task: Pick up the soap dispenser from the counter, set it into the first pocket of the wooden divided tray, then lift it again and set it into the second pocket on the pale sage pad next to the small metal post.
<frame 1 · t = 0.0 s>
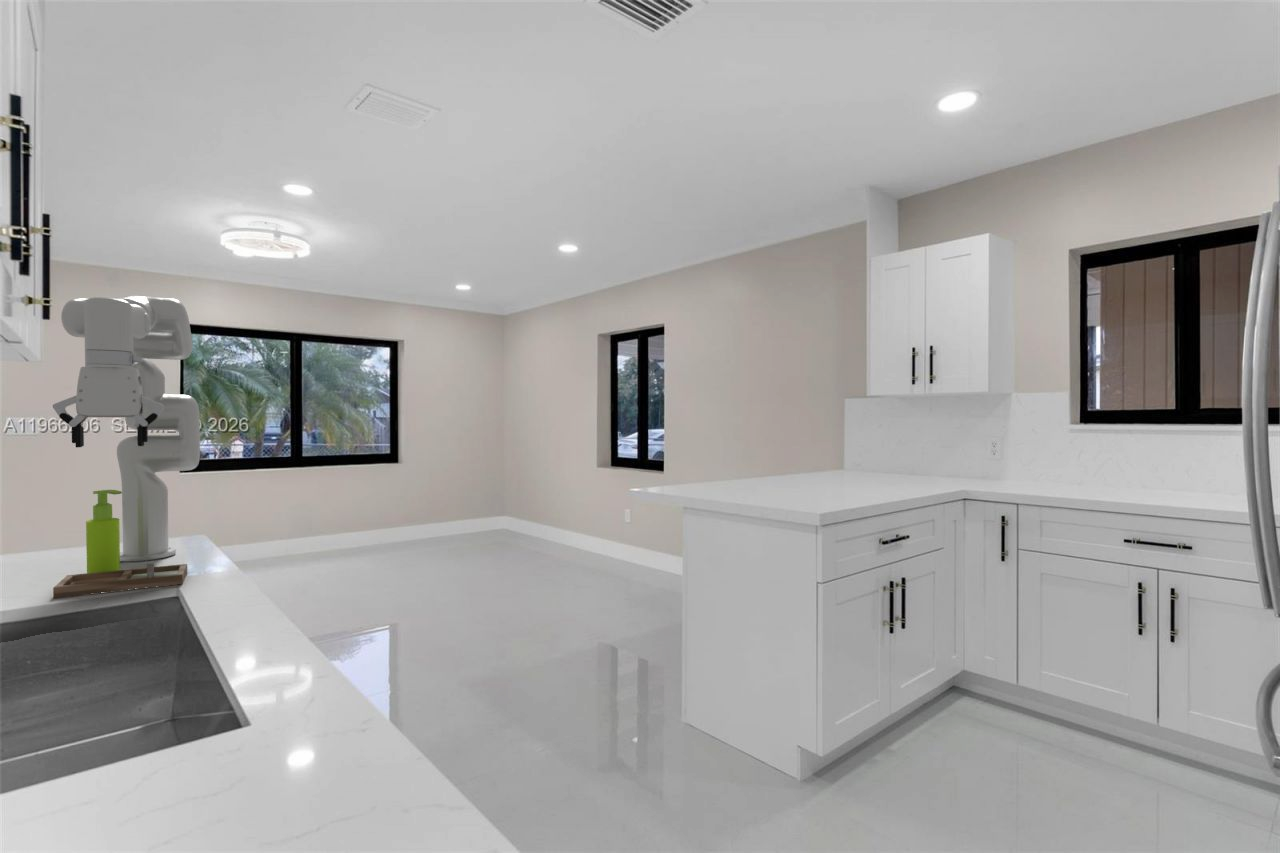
hand: (110, 446, 130), 31 cm above the table, tool pointing down, fingers open, 9 cm apart
wooden divided tray: (125, 584, 143), on the table
soap dispenser: (106, 577, 150), on the table
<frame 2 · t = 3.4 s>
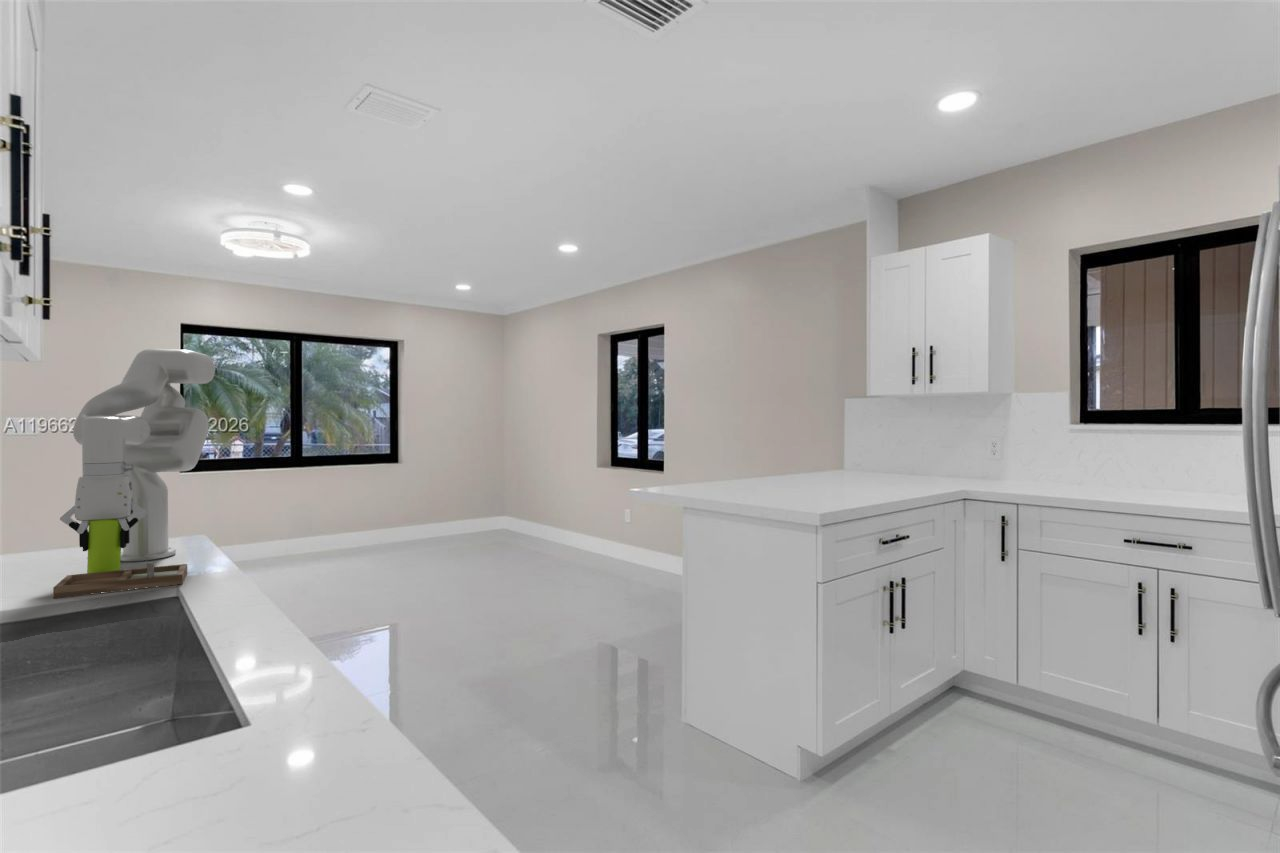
hand: (105, 547, 149), 7 cm above the table, tool pointing down, fingers closed on soap dispenser, 6 cm apart
soap dispenser: (105, 577, 150), on the table, touching gripper
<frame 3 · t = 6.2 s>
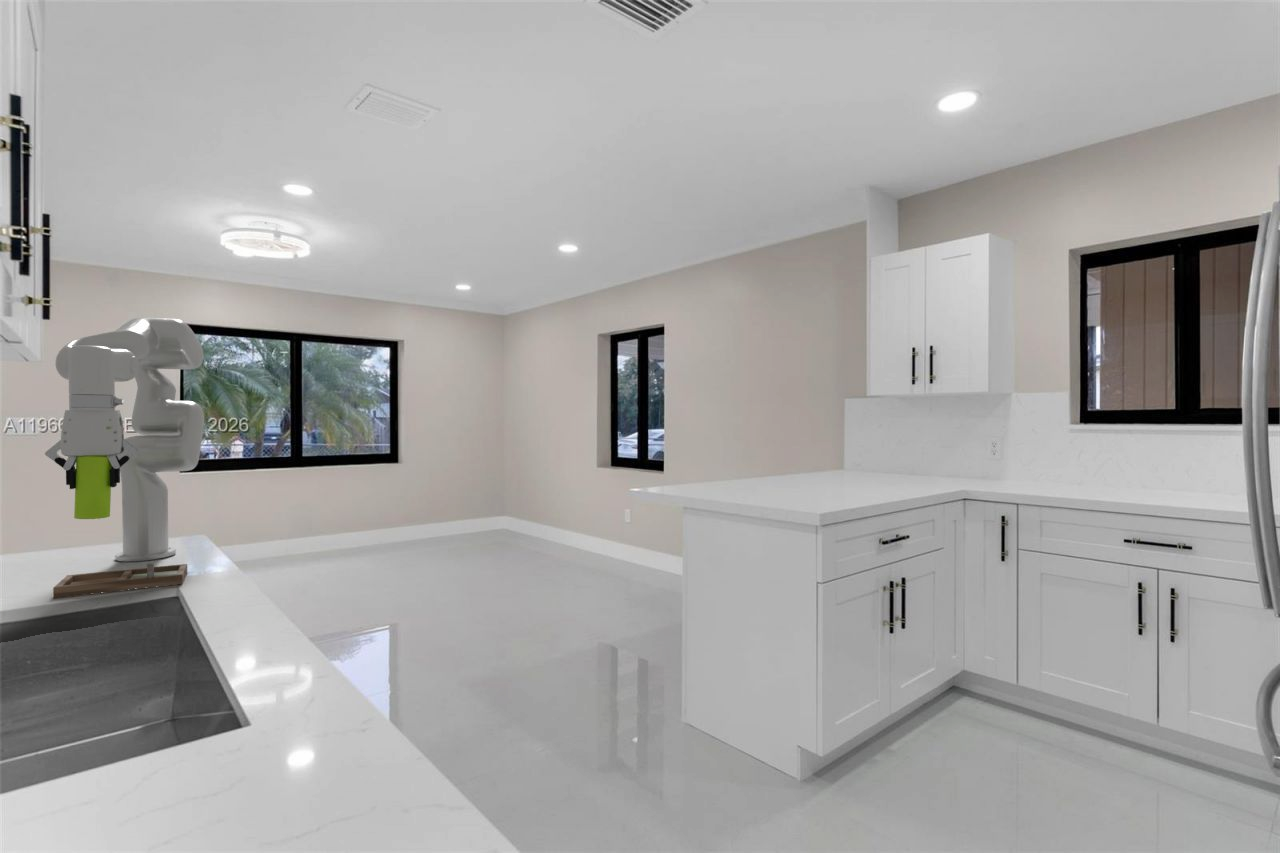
hand: (93, 486, 140), 22 cm above the table, tool pointing down, fingers closed on soap dispenser, 6 cm apart
soap dispenser: (94, 518, 140), point 15 cm above the table, touching gripper
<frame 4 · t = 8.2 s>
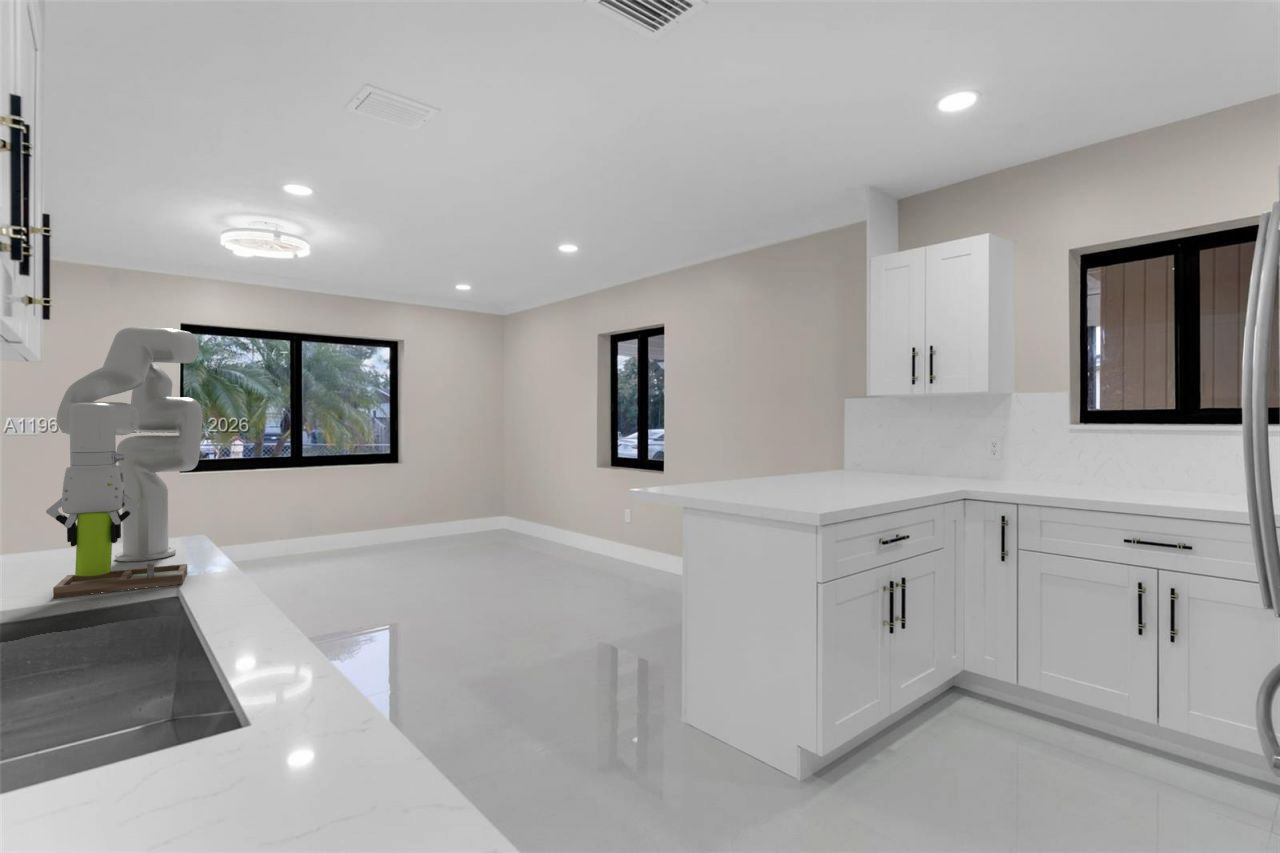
hand: (94, 542, 140), 10 cm above the table, tool pointing down, fingers closed on soap dispenser, 6 cm apart
soap dispenser: (95, 573, 140), point 3 cm above the table, touching gripper
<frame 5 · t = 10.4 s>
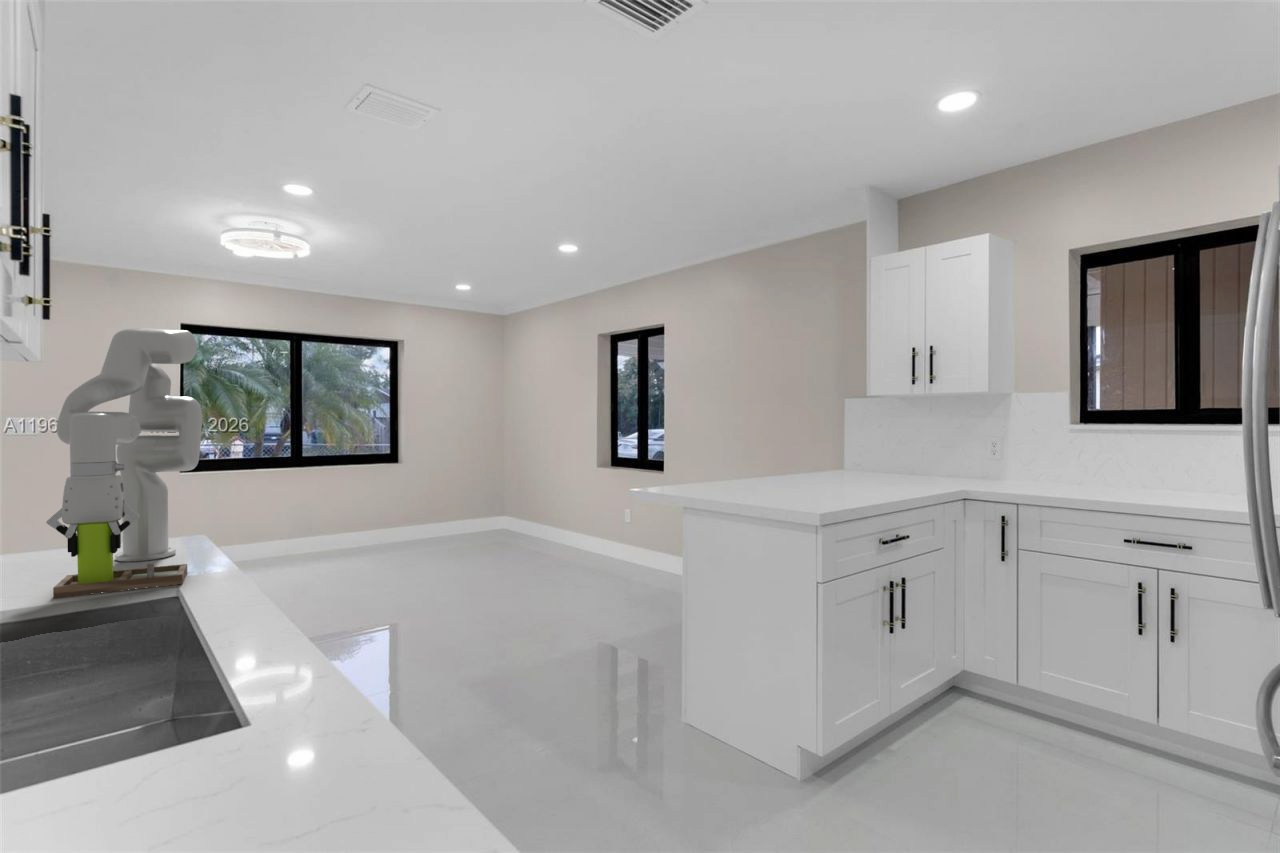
hand: (94, 553, 140), 8 cm above the table, tool pointing down, fingers closed on soap dispenser, 5 cm apart
soap dispenser: (98, 583, 141), point 1 cm above the table, touching gripper, wooden divided tray
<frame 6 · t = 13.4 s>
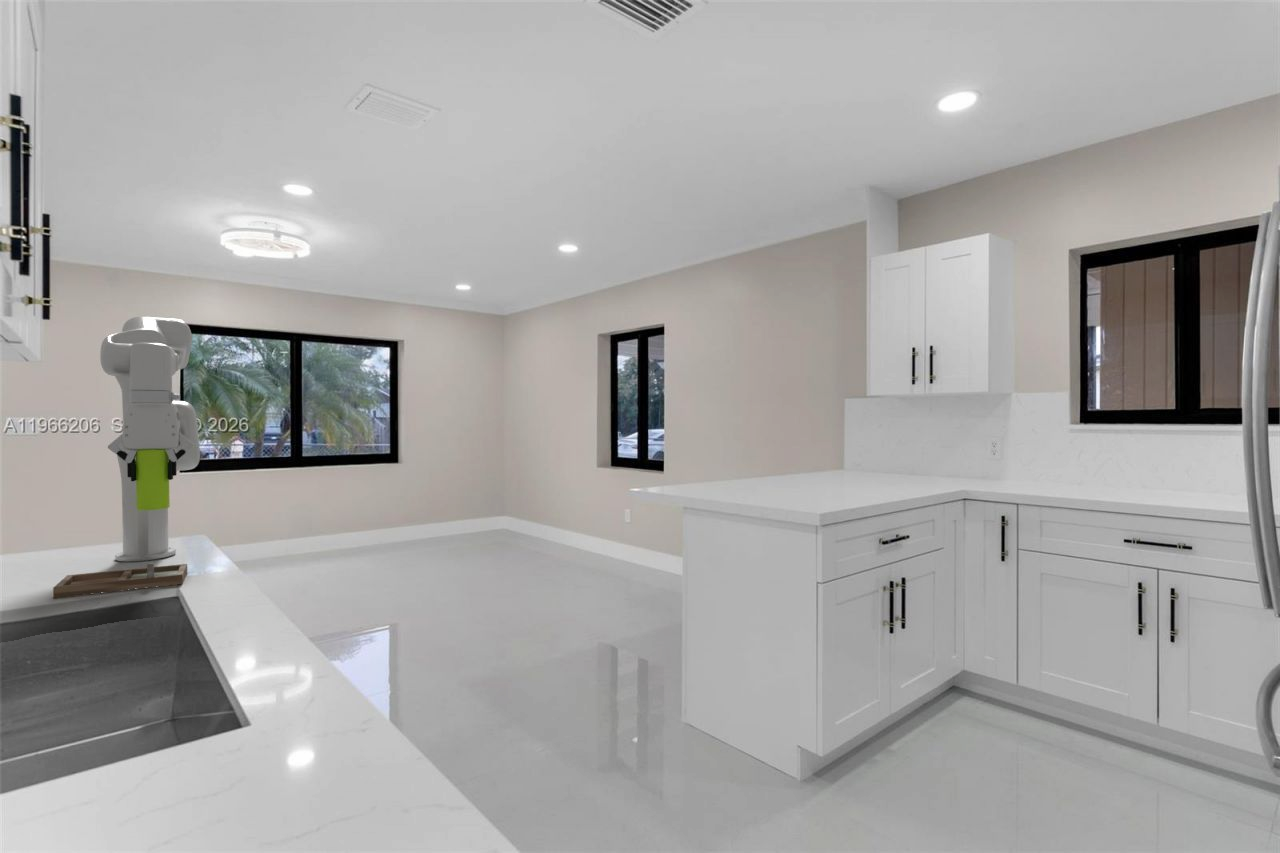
hand: (152, 479, 145), 23 cm above the table, tool pointing down, fingers closed on soap dispenser, 5 cm apart
soap dispenser: (155, 509, 145), point 16 cm above the table, touching gripper
when the fingers open (10 cm above the table, at t = 16.1 s): soap dispenser drops 2 cm, resting on wooden divided tray.
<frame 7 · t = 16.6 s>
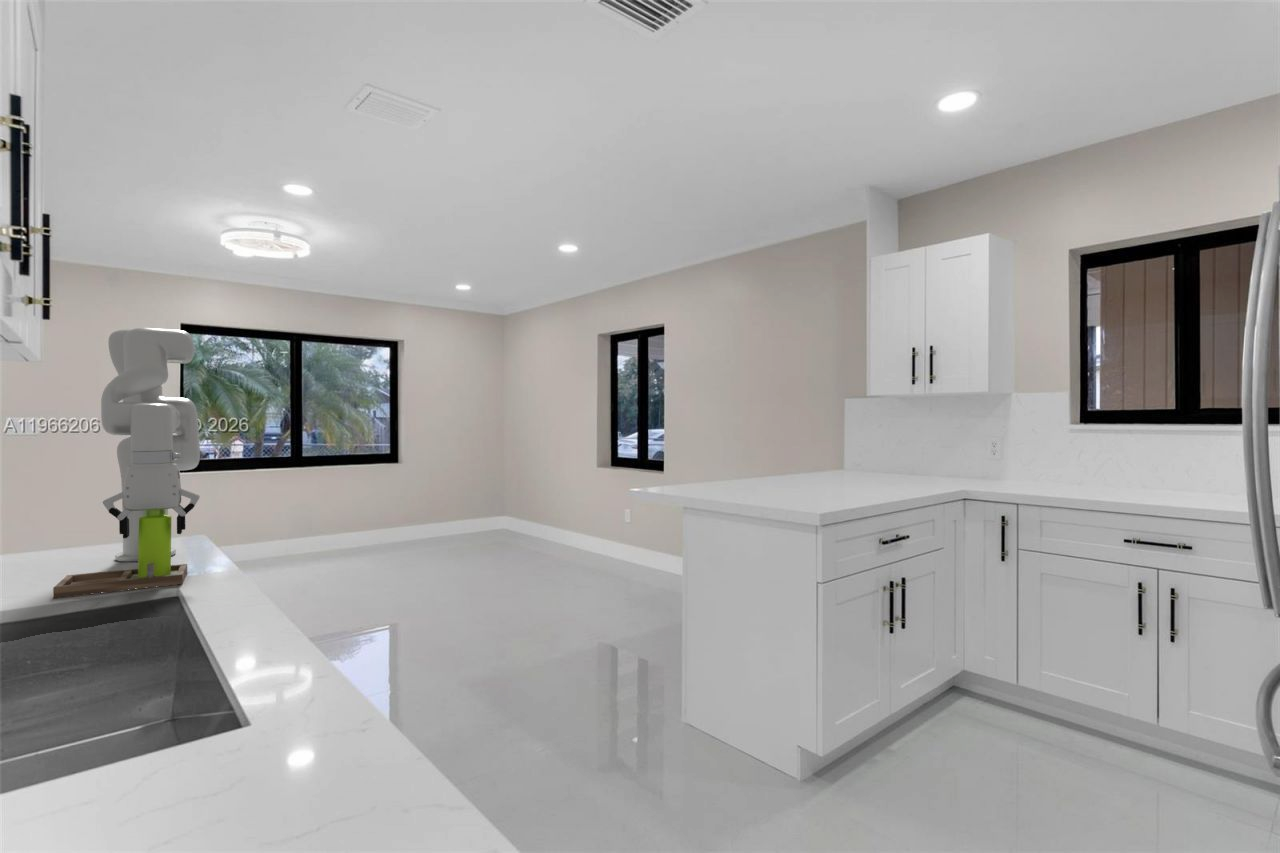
hand: (153, 535, 145), 10 cm above the table, tool pointing down, fingers open, 9 cm apart
soap dispenser: (156, 576, 146), point 1 cm above the table, touching wooden divided tray
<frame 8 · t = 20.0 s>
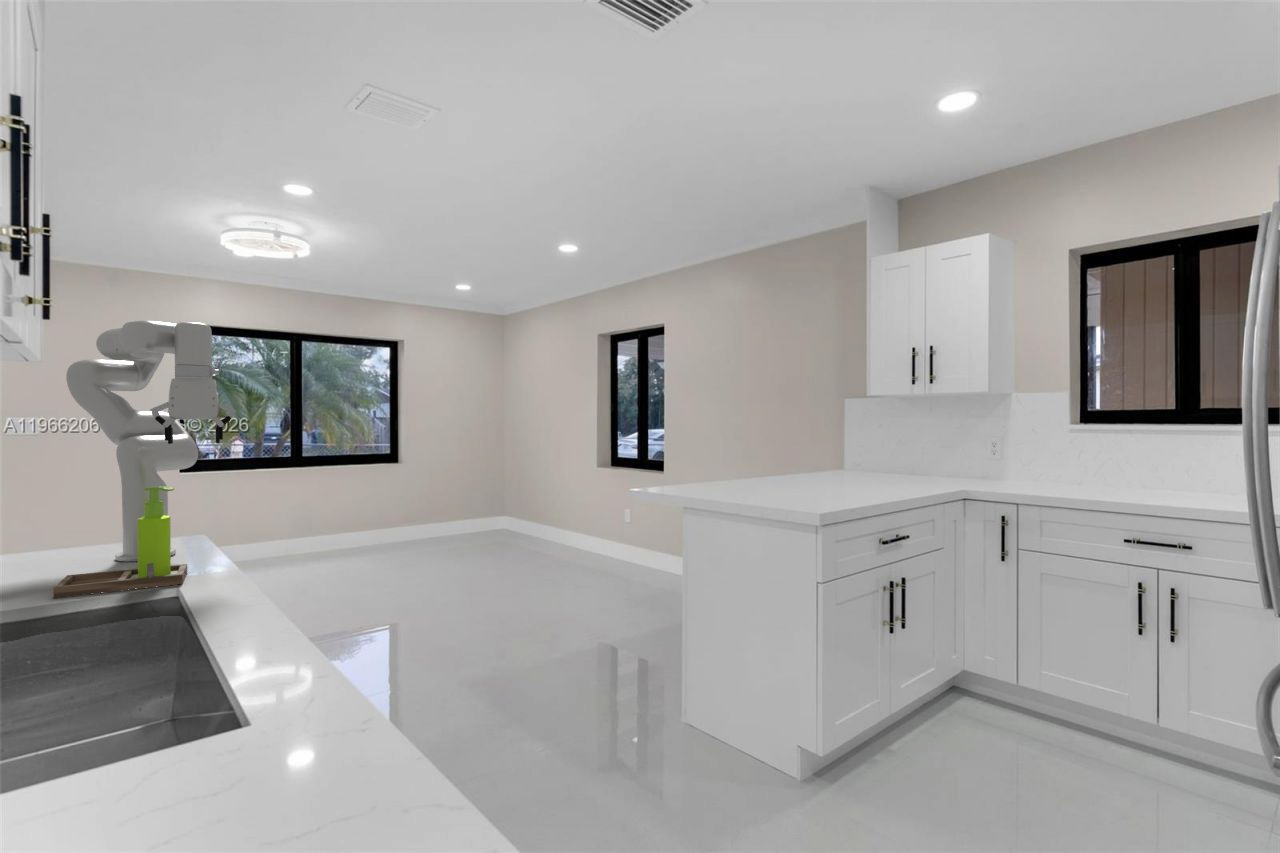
hand: (194, 443, 160), 30 cm above the table, tool pointing down, fingers open, 9 cm apart
nothing on the table moved.
at the end: soap dispenser 0.7 cm from the target spot on the wooden divided tray, point 1.0 cm above the wooden divided tray's base; soap dispenser tilted 1°; the gripper is holding nothing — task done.
